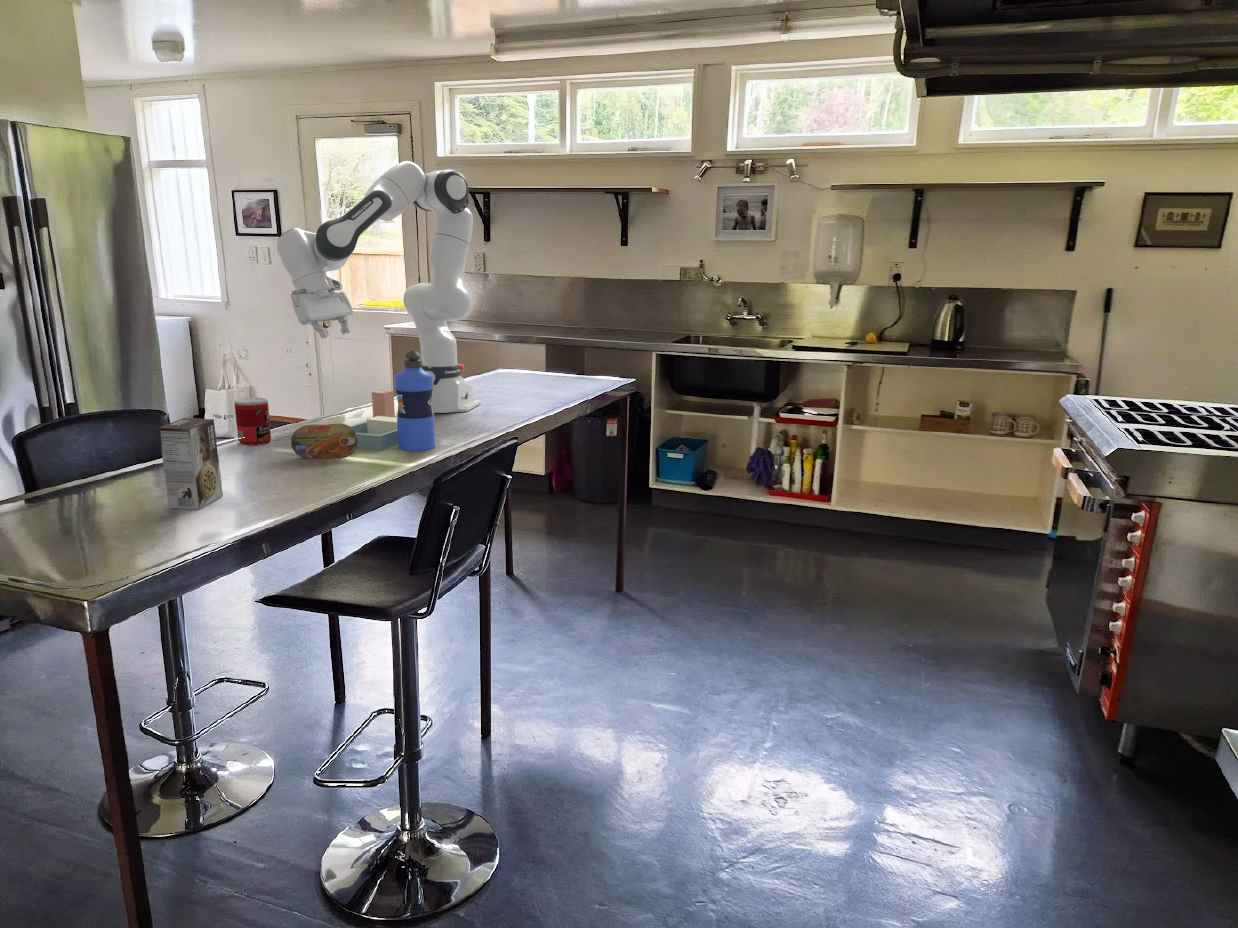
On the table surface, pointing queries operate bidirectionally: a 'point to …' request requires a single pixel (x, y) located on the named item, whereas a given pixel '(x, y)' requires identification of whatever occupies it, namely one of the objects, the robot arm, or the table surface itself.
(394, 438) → the tote
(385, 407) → the salmon brown rectangular block
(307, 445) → the tin
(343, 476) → the table surface
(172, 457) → the cookie box
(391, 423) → the beige rectangular block
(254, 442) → the canned food
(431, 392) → the water bottle
